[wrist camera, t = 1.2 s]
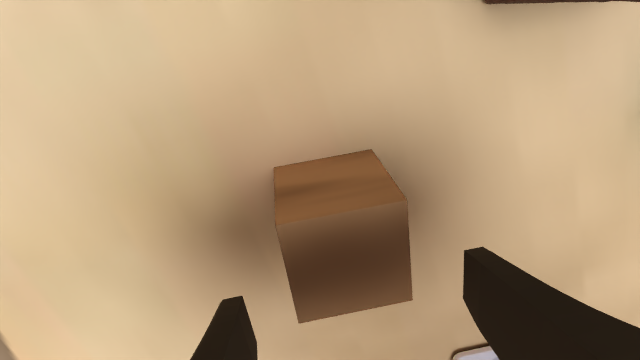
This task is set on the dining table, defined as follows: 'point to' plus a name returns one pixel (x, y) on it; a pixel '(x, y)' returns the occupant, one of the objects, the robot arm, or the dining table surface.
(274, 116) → the dining table surface
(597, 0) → the box
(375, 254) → the walnut block
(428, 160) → the dining table surface
